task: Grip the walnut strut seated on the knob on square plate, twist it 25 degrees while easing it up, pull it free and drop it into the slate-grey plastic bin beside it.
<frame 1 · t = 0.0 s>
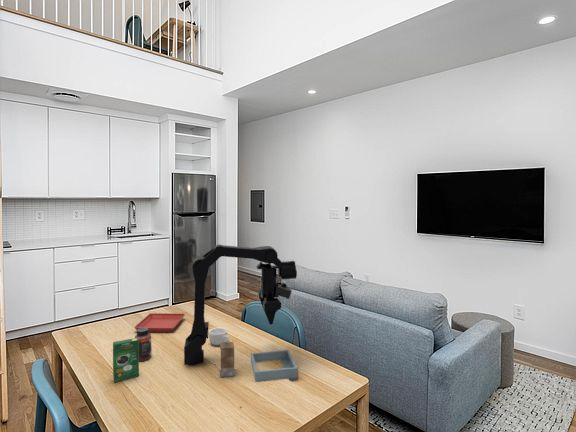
hand: (269, 319, 137), 15 cm above the table, tool pointing down, fingers open, 9 cm apart
knob on square plate: (227, 375, 125), on the table
bin: (273, 371, 128), on the table
plant saucer: (161, 327, 170), on the table
strut: (227, 373, 124), point 1 cm above the table, touching knob on square plate
teacup: (220, 344, 150), on the table
supplement bottle: (143, 358, 138), on the table
coffee box: (126, 378, 123), on the table
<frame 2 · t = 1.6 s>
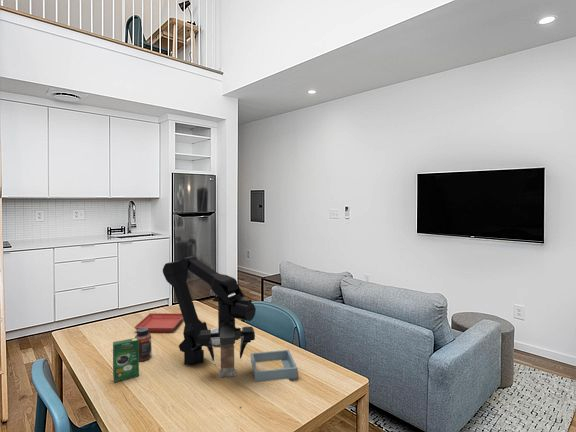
hand: (227, 359, 124), 6 cm above the table, tool pointing down, fingers open, 9 cm apart
nothing on the table moved.
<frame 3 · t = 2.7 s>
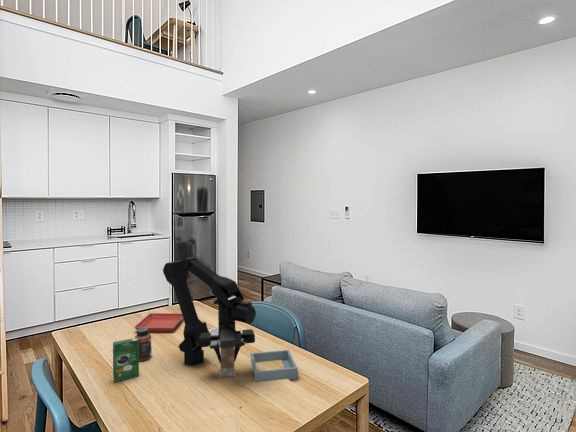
hand: (227, 361, 124), 5 cm above the table, tool pointing down, fingers closed on strut, 4 cm apart
strut: (227, 373, 124), point 1 cm above the table, touching knob on square plate, gripper
everything else where it was.
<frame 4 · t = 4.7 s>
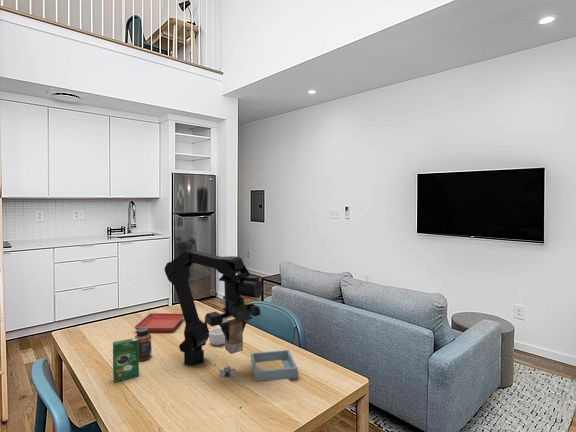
hand: (233, 338, 124), 13 cm above the table, tool pointing down, fingers closed on strut, 4 cm apart
strut: (233, 349, 124), point 9 cm above the table, touching gripper
everything else where it was.
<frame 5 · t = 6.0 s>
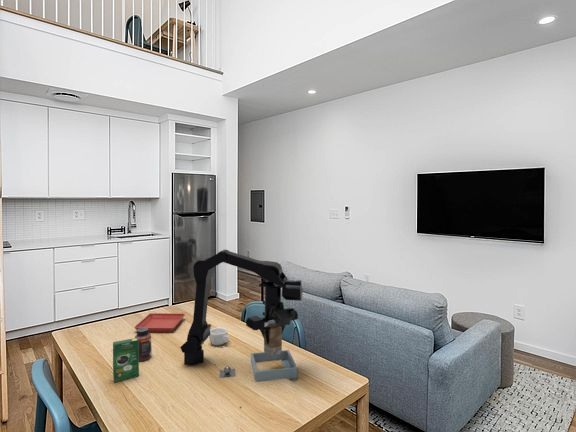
hand: (272, 342, 127), 11 cm above the table, tool pointing down, fingers closed on strut, 4 cm apart
strut: (272, 353, 127), point 7 cm above the table, touching gripper
everything else where it was.
when the fingers open (7 cm above the table, at t = 6.9 s): strut drops 2 cm, resting on bin.
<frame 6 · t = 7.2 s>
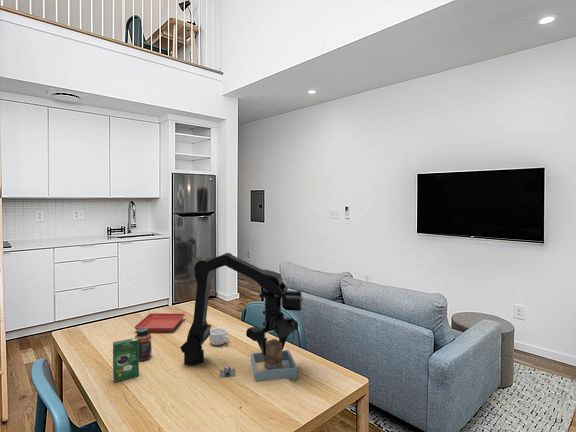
hand: (272, 352, 127), 7 cm above the table, tool pointing down, fingers open, 7 cm apart
strut: (273, 369, 128), point 1 cm above the table, touching bin
everything else where it was.
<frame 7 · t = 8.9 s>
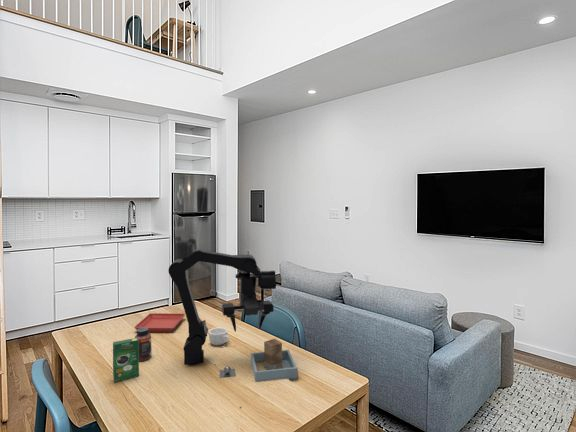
hand: (247, 330, 135), 12 cm above the table, tool pointing down, fingers open, 9 cm apart
nothing on the table moved.
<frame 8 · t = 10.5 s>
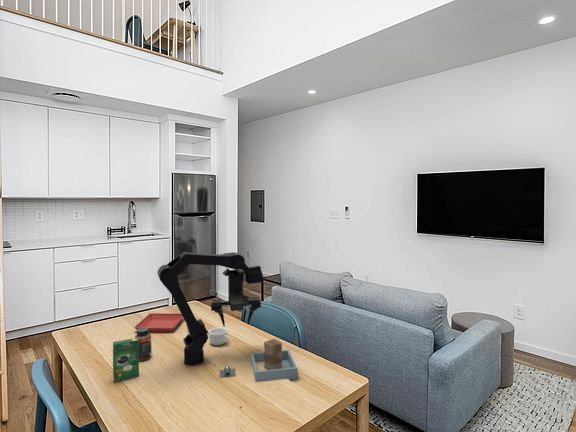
hand: (236, 325, 139), 12 cm above the table, tool pointing down, fingers open, 9 cm apart
nothing on the table moved.
at the end: strut inside the target area on the bin (0.0 cm from its centre), point 0.6 cm above the bin's base; the gripper is holding nothing; strut moved 16.0 cm from its start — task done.
